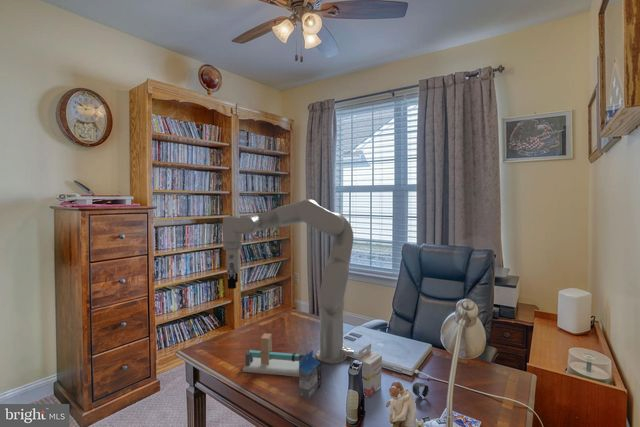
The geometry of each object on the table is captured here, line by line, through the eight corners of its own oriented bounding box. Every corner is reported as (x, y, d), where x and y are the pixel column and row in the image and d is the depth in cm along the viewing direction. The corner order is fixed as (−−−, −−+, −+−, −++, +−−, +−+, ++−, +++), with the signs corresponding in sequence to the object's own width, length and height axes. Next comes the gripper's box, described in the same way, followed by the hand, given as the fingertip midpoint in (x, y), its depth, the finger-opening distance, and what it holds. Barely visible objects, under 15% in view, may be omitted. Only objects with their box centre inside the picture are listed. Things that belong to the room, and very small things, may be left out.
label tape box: (309, 400, 108) (309, 363, 107) (298, 396, 110) (298, 360, 109) (321, 386, 115) (322, 352, 115) (312, 383, 117) (312, 349, 116)
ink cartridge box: (369, 399, 108) (370, 355, 107) (356, 393, 111) (357, 351, 110) (382, 387, 115) (382, 346, 114) (369, 382, 118) (370, 342, 117)
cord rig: (308, 364, 130) (308, 347, 129) (304, 377, 121) (304, 358, 120) (251, 359, 134) (251, 342, 133) (242, 371, 125) (242, 353, 124)
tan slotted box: (271, 358, 130) (271, 333, 129) (268, 364, 125) (268, 338, 125) (264, 358, 130) (264, 333, 130) (260, 363, 126) (260, 338, 125)
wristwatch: (412, 397, 109) (412, 382, 109) (425, 395, 110) (426, 380, 110) (416, 402, 106) (417, 387, 106) (430, 400, 107) (431, 385, 107)
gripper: (240, 248, 130) (240, 290, 131) (242, 242, 147) (243, 279, 148) (220, 248, 129) (221, 291, 130) (225, 242, 146) (226, 280, 147)
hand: (233, 285), depth 139 cm, fingers open, 9 cm apart
